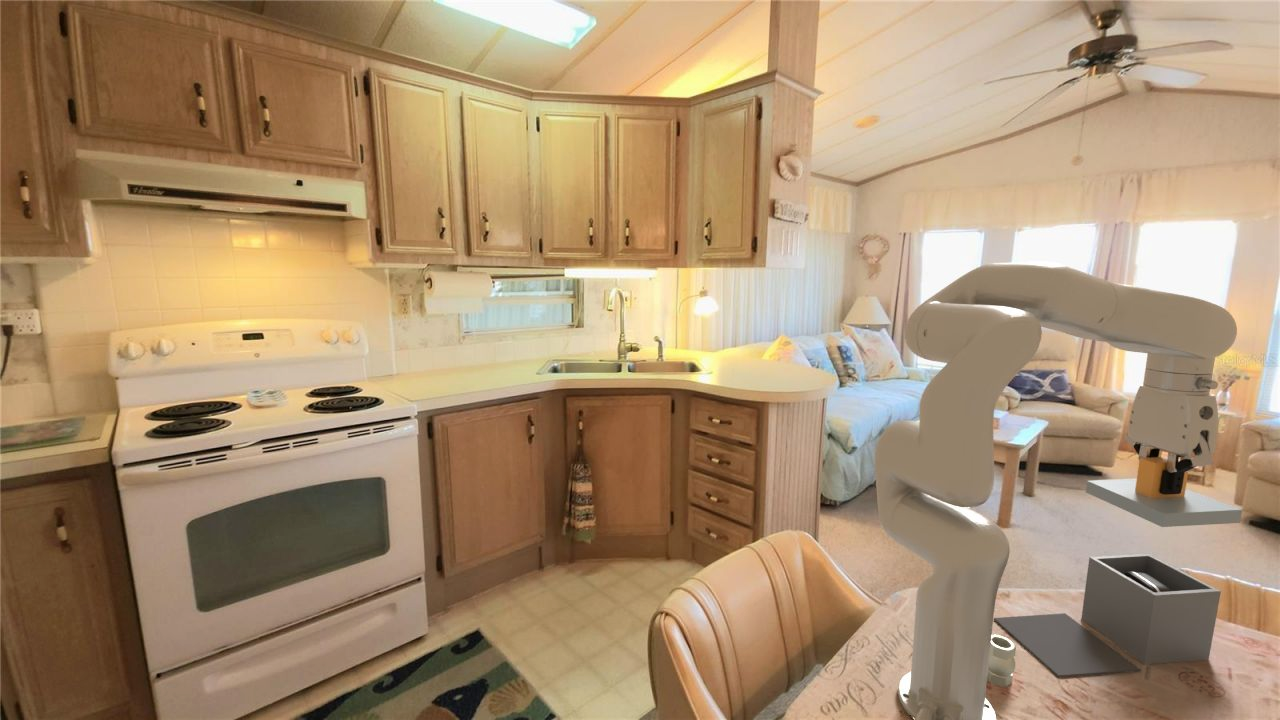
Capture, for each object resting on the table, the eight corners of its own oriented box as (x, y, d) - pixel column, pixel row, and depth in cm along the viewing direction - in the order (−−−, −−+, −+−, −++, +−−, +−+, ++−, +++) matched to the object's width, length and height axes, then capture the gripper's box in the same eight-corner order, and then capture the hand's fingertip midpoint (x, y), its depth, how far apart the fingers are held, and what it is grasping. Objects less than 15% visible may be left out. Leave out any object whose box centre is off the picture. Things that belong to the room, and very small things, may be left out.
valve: (1027, 690, 81) (982, 636, 93) (1032, 652, 80) (985, 603, 92) (983, 688, 81) (944, 635, 93) (987, 651, 80) (946, 602, 92)
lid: (1162, 527, 80) (1169, 476, 79) (1085, 492, 93) (1091, 448, 92) (1240, 522, 81) (1249, 472, 80) (1153, 489, 94) (1159, 445, 92)
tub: (1143, 664, 85) (1154, 595, 83) (1081, 619, 96) (1089, 557, 94) (1208, 659, 86) (1220, 591, 84) (1138, 615, 97) (1148, 553, 95)
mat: (1058, 677, 83) (1058, 675, 83) (993, 619, 97) (994, 618, 97) (1140, 671, 84) (1140, 669, 84) (1064, 615, 98) (1065, 613, 97)
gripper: (1260, 391, 76) (1238, 510, 79) (1146, 371, 92) (1132, 470, 95) (1212, 393, 75) (1192, 512, 78) (1106, 372, 91) (1093, 472, 94)
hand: (1159, 488), depth 86 cm, fingers closed on lid, 2 cm apart
